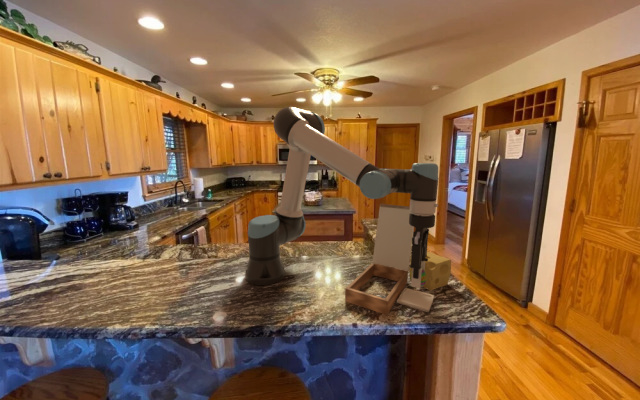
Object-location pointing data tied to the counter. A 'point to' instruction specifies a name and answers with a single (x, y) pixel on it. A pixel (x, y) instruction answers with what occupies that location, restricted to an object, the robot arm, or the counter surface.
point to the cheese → (436, 271)
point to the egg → (423, 277)
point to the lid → (393, 237)
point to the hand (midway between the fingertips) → (417, 283)
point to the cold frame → (371, 300)
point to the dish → (416, 299)
